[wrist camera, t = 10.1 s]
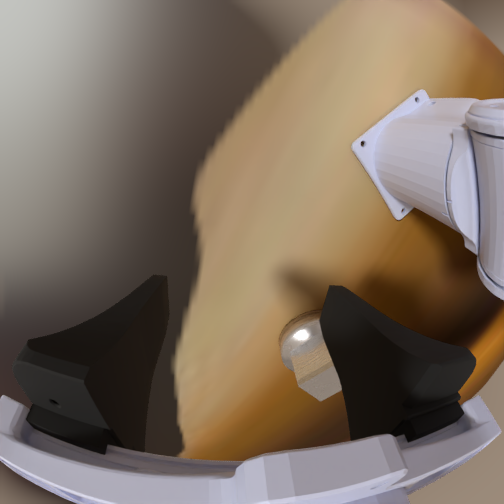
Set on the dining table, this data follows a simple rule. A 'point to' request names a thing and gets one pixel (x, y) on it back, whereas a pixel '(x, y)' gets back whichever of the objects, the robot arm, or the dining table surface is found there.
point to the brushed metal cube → (315, 368)
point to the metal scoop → (298, 334)
